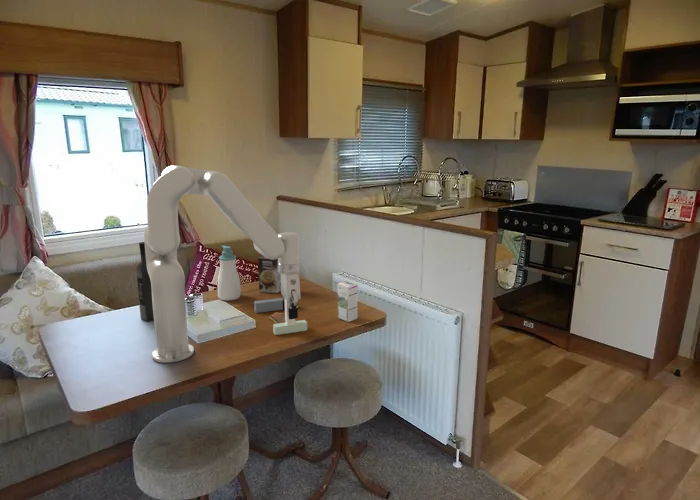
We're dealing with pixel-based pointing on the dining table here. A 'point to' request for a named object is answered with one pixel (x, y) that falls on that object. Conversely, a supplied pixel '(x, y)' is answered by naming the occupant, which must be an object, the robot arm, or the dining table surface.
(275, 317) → the shard
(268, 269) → the coffee box
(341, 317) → the syrup box
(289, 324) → the green white t block
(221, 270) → the soap bottle
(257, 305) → the rail
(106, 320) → the dining table surface
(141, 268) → the wine bottle
